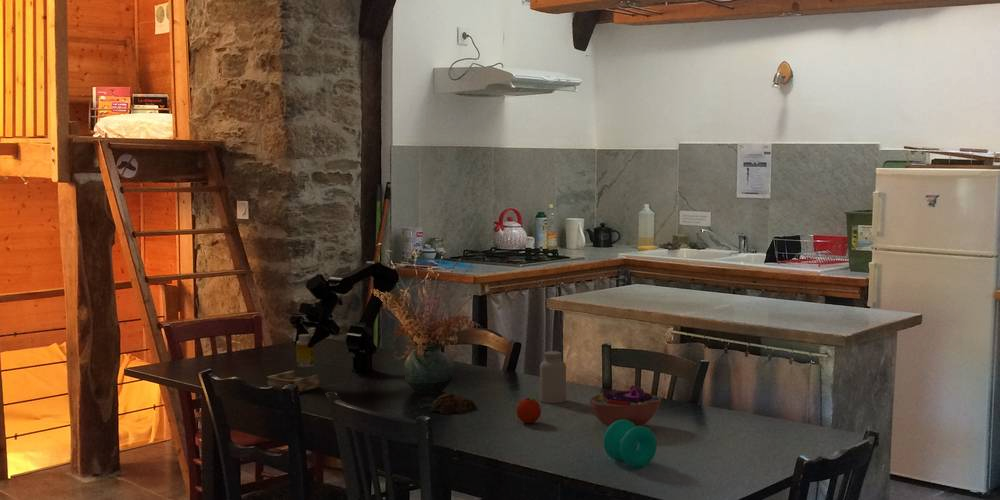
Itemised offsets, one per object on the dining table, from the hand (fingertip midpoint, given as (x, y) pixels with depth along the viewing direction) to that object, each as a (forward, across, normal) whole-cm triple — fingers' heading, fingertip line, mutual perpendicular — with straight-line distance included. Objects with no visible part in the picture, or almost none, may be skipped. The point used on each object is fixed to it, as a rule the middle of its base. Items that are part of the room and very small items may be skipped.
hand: (302, 345), depth 335 cm
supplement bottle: (+4, 0, +6) cm, 7 cm away
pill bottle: (-9, +80, +28) cm, 85 cm away
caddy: (+12, 0, +6) cm, 14 cm away
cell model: (+2, +112, +17) cm, 113 cm away
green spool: (+23, +128, -4) cm, 131 cm away
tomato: (+9, +88, +10) cm, 89 cm away
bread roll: (+9, +60, +10) cm, 61 cm away
